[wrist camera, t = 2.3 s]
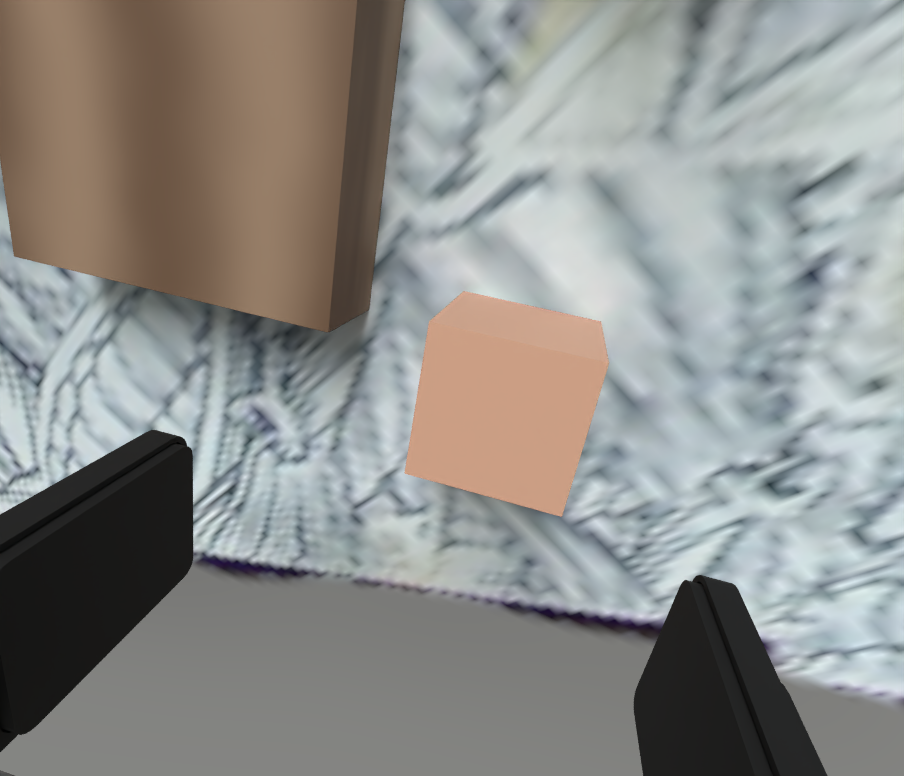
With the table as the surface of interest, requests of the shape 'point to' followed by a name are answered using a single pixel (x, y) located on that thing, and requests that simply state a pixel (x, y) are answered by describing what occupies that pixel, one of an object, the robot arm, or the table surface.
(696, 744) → the robot arm
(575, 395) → the terracotta cube
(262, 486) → the table surface
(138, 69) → the walnut block
